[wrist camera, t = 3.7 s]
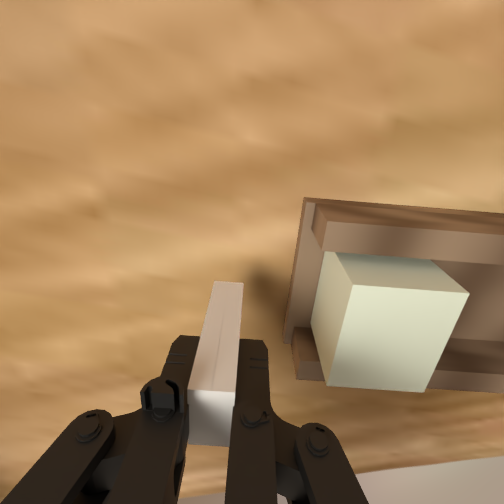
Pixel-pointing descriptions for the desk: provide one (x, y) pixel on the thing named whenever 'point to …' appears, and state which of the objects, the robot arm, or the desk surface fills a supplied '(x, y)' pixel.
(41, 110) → the desk surface
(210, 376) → the robot arm
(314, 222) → the chute
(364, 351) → the block
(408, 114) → the desk surface
